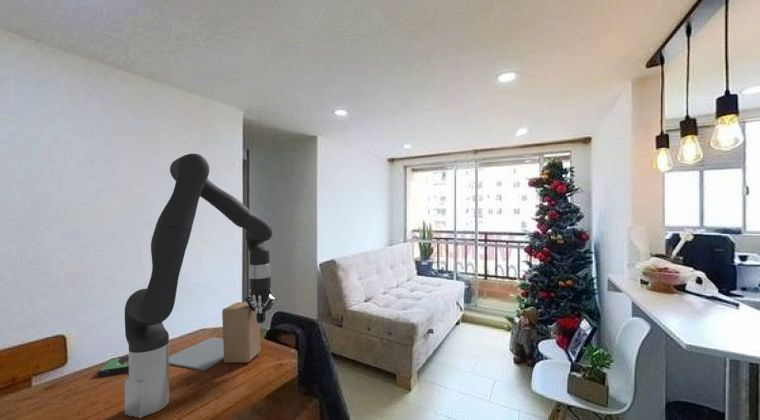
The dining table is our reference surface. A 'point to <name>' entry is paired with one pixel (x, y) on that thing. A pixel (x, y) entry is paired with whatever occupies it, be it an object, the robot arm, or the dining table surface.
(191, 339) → the dining table surface
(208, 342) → the mat
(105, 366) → the disk drive
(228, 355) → the wooden block
